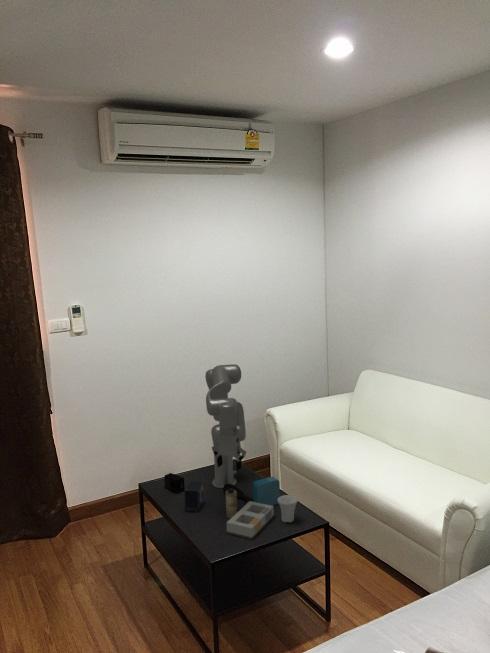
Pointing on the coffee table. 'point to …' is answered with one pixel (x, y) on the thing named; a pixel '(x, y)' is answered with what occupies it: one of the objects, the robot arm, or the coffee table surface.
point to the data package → (266, 491)
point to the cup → (287, 507)
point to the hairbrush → (239, 492)
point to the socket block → (250, 520)
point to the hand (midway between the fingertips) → (229, 467)
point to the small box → (194, 496)
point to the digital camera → (174, 483)
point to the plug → (231, 502)
